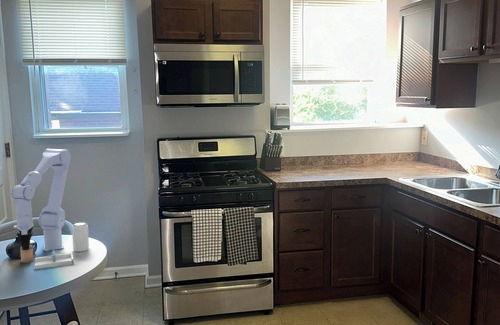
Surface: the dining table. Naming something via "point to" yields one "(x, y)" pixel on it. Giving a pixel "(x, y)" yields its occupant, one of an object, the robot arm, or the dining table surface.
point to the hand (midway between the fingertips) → (26, 246)
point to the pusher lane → (48, 262)
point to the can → (80, 236)
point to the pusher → (54, 256)
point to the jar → (27, 254)
